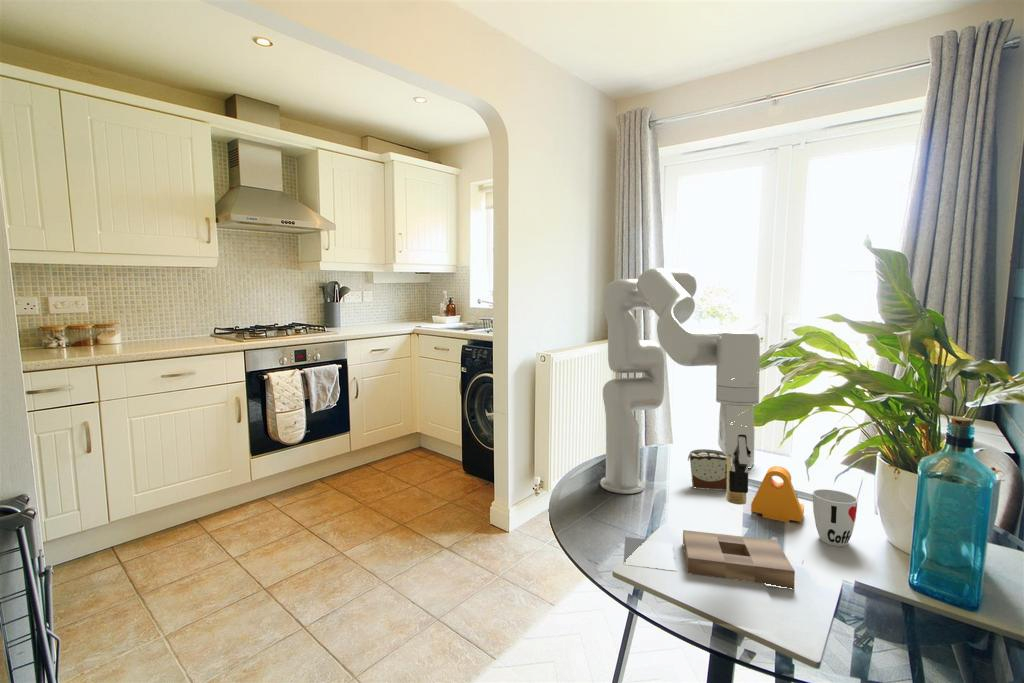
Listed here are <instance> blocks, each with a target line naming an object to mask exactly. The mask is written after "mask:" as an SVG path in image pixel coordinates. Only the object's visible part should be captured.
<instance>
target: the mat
mask: <svg viewBox="0 0 1024 683" xmlns="http://www.w3.org/2000/svg"><path fill="white" fill-rule="evenodd" d="M624 539H625V542H624V555H623V556H624V557H623V563H624V562H626V559H627V558H628V557H629V556H630V555H632V553H633V552H634V551H635V550H636V549H637V548H638V547H639V546H641V545H642V543H644V542H645V541H646V540H648V538H647V539H645V538H638V537H629V536H625V538H624Z"/></svg>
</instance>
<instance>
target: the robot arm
mask: <svg viewBox="0 0 1024 683" xmlns="http://www.w3.org/2000/svg"><path fill="white" fill-rule="evenodd" d="M696 291H697V281H696V278H695V275H693V273H692V272H690V271H689V270H688V269H685V268H674V267H673V268H672V267H671V268H670V267H664V268H663V267H654V268H649V269H646V270H644V271H643V272H642V273H640V275H639V276H638V278H619V279H615V280H612V281H610V282H609V283H608V284H607V285H606V287H605V288H604V292H603V299H602V301H603V302H602V304H603V309H604V313H605V317H606V322H607V360H608V361H607V362H608V367H609V369H610V371H612V372H614V373H615V374H616V373H617V374H639V373H640V374H641V377H639V376H638V377H619V378H612V379H610V380H608V381H607V382H605V384H604V386H603V388H602V400H603V405H604V411H605V412H604V413H605V414H604V415H605V476H604V477H602V478H601V479H600V486H601V488H602V489H604V490H606V491H609V492H613V493H617V494H627V495H629V494H631V495H632V494H637V493H641V492H643V491H644V490H645V489H646V484H645V482H644V481H643V480H642V479H640V460H641V457H640V453H641V452H640V447H641V444H640V442H641V440H640V438H641V431H640V430H641V428H640V424H639V422H638V420H637V419H636V417H635V416H634V414H633V412H636V411H648V410H655V409H658V408H659V407H661V405H662V404H663V401H664V397H665V396H664V395H665V356H664V352H663V350H664V351H665V352H666V354H667V355H668V356H669V358H671V360H673V362H674V363H677V364H678V365H680V366H682V367H702V366H703V367H704V366H706V367H707V366H709V367H710V366H711V367H712V366H713V367H714V366H716V367H715V368H716V373H715V375H716V377H715V378H716V382H715V386H716V393H715V401H716V403H718V404H720V406H719V417H718V437H717V438H718V439H717V444H718V446H719V448H720V451H722V452H723V453H724V454H725V455H726V463H727V456H729V455H731V470H729V490H730V491H731V492H738V493H746V494H747V493H748V492H749V469H748V457H749V458H750V457H752V456H753V452H754V453H755V437H754V427H755V416H754V406H757V404H758V405H759V404H760V364H761V363H760V354H761V353H760V351H761V346H760V345H761V343H760V342H761V341H760V337H759V335H758V333H756V332H754V331H748V330H747V331H745V330H742V331H740V330H739V331H738V330H735V331H733V330H729V329H686V328H685V327H684V326H682V324H683V323H686V322H687V321H688V320H689V319H690V318H691V317H692V315H693V313H694V311H695V307H696V305H695V304H696V303H695V300H694V298H693V297H694V296H695V294H696ZM630 310H633V311H635V310H636V311H637V310H638V311H651V310H652V311H653V312H654V313H655V314H656V315H657V316H658V319H657V324H656V333H657V338H658V342H659V343H658V342H657V341H655V340H653V339H652V340H651V339H639V323H638V322H637V319H636V317H635V316H634V315H633V313H632V311H630ZM662 348H663V349H662ZM757 358H758V359H757ZM757 372H758V373H757ZM753 374H754V375H753ZM732 378H735V379H733V380H731V379H732ZM752 407H753V408H752ZM750 408H752V409H751V410H748V409H750ZM746 410H748V411H746ZM744 411H745V412H744ZM742 412H744V413H742ZM741 413H742V414H741ZM739 414H740V415H739ZM738 415H739V416H738ZM734 421H735V422H734ZM731 422H733V423H732V424H733V425H730V423H731ZM741 425H742V426H741ZM745 426H747V427H745ZM734 452H738V455H734ZM735 459H738V460H736V462H735ZM725 482H726V484H727V464H726V471H725Z"/></svg>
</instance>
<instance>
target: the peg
mask: <svg viewBox="0 0 1024 683" xmlns="http://www.w3.org/2000/svg"><path fill="white" fill-rule="evenodd" d="M734 455H738V452H734ZM736 460H738V459H735V462H736ZM729 470H731V455H729V456H727V490H726V498H725V499H726V501H727V502H728V503H731V504H733V505H747V493H738V492H731V491H730V490H729Z"/></svg>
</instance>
